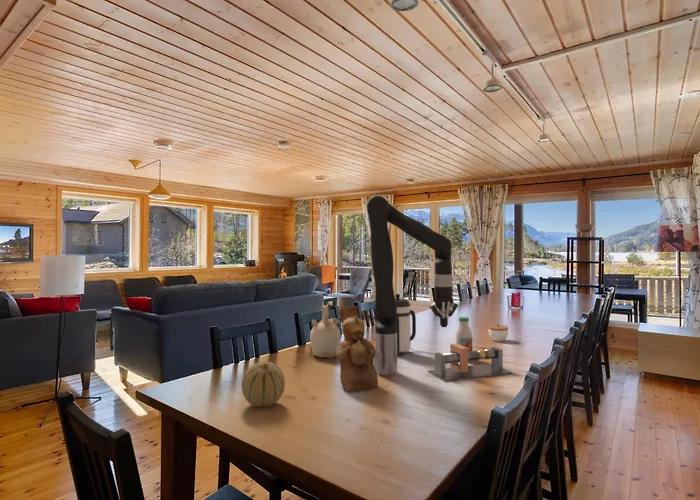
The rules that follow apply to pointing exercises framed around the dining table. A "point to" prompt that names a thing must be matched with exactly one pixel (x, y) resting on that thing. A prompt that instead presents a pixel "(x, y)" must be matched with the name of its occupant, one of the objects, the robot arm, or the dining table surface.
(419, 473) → the dining table surface
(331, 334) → the jug
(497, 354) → the rail
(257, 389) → the cantaloupe
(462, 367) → the collar
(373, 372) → the ceramic vessel
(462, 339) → the milk bottle
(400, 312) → the coffee press
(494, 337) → the lidded jar
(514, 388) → the dining table surface
